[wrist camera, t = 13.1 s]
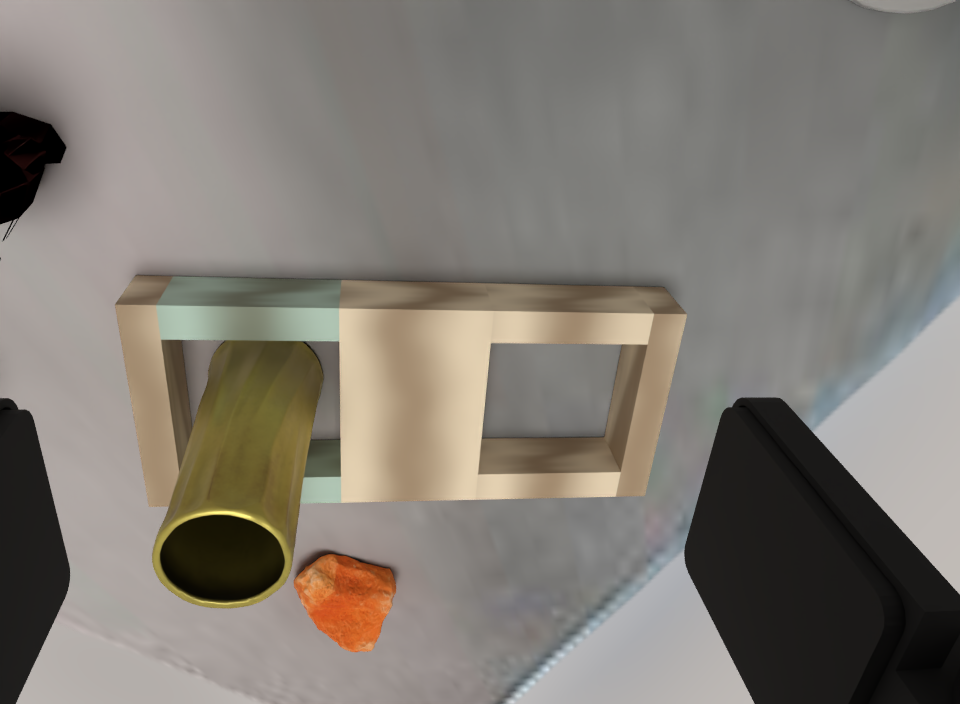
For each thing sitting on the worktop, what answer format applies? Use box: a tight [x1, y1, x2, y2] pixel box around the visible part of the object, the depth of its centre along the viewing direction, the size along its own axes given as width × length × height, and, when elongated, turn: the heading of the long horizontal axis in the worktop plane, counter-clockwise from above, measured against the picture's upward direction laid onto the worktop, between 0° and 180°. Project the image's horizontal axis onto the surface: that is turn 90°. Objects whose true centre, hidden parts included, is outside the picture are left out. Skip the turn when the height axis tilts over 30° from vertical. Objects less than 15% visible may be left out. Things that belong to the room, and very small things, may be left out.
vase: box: [152, 340, 323, 608], centre depth 35 cm, size 6×6×14 cm
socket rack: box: [115, 275, 687, 507], centre depth 41 cm, size 28×12×4 cm, turn 85°
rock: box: [294, 554, 396, 652], centre depth 48 cm, size 12×12×4 cm
